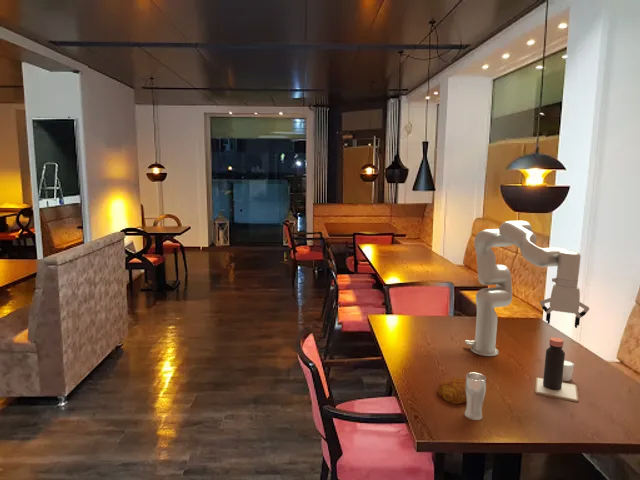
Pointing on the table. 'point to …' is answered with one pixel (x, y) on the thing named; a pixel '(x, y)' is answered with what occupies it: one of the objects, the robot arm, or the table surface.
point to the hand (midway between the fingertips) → (562, 324)
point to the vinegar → (554, 365)
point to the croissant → (453, 389)
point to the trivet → (558, 391)
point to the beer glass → (474, 395)
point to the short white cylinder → (567, 370)
